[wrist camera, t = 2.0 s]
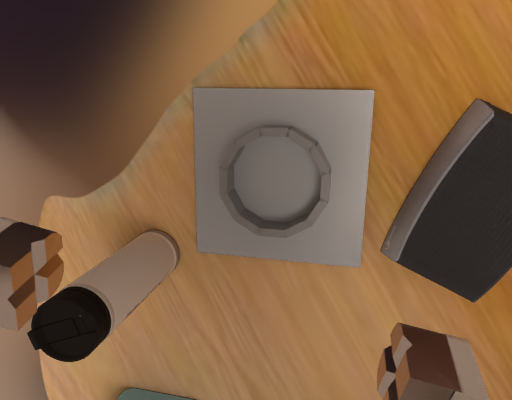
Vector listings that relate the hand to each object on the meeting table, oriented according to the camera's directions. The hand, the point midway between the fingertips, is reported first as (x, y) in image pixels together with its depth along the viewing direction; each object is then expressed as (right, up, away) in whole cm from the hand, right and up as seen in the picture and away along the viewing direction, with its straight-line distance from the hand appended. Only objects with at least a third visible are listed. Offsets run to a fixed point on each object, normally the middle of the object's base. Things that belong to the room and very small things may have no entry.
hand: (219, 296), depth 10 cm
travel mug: (-12, -4, +47) cm, 48 cm away
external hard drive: (+25, +2, +37) cm, 45 cm away
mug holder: (+4, +5, +40) cm, 41 cm away
